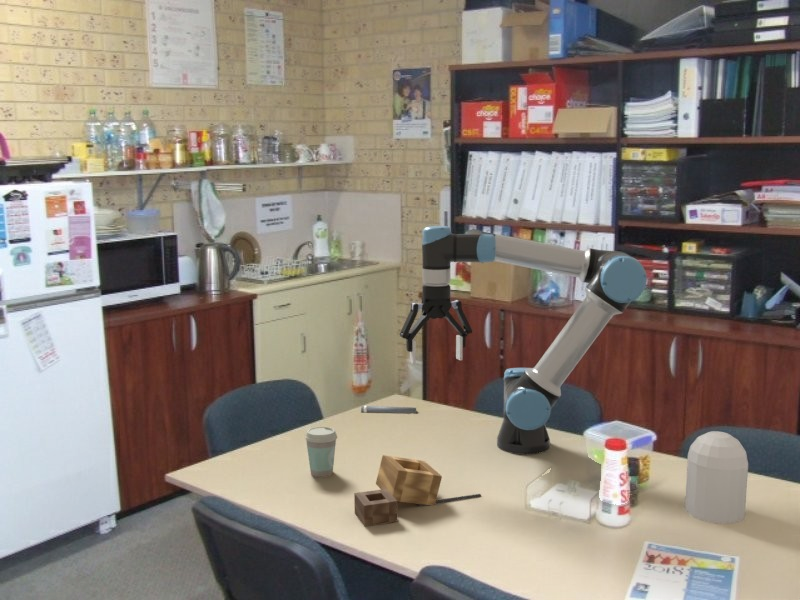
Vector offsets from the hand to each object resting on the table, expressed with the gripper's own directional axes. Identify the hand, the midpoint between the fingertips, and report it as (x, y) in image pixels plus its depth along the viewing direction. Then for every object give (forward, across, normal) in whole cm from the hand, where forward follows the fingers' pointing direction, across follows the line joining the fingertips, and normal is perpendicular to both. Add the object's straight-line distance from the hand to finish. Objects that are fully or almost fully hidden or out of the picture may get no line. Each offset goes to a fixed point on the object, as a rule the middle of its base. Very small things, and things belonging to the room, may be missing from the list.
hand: (436, 361), depth 235 cm
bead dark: (+29, +27, +30) cm, 50 cm away
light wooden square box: (+28, +17, +22) cm, 39 cm away
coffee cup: (+29, +32, -2) cm, 43 cm away
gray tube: (+27, -10, -43) cm, 52 cm away
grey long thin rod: (+29, +7, +27) cm, 40 cm away
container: (+29, -49, +55) cm, 79 cm away
